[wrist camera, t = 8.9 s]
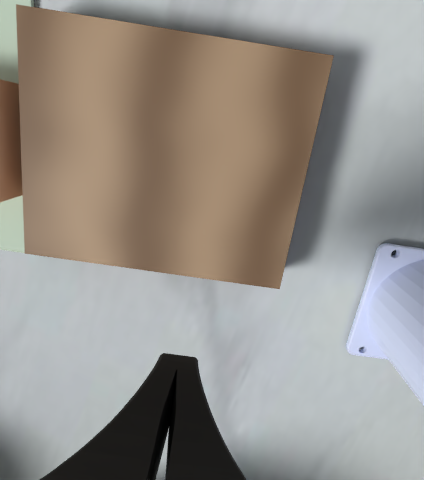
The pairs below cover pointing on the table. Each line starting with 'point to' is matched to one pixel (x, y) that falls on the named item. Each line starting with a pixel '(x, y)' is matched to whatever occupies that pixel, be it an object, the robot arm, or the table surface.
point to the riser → (163, 145)
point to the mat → (6, 68)
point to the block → (10, 142)
